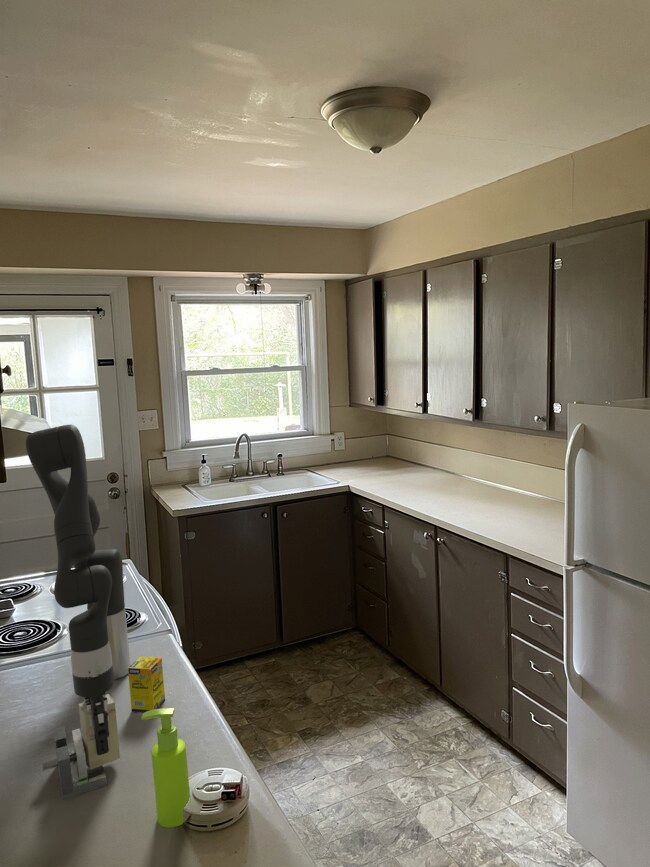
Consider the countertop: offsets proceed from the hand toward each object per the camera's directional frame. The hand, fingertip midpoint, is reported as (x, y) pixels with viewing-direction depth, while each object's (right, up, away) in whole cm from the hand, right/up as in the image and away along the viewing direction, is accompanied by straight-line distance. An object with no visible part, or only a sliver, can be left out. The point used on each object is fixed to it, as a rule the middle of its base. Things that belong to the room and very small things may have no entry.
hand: (101, 745), depth 129 cm
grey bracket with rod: (-3, -5, -1) cm, 6 cm away
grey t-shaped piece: (-6, -4, -3) cm, 8 cm away
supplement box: (+3, -2, +23) cm, 23 cm away
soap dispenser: (+18, -6, -14) cm, 23 cm away
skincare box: (0, -3, 0) cm, 3 cm away
